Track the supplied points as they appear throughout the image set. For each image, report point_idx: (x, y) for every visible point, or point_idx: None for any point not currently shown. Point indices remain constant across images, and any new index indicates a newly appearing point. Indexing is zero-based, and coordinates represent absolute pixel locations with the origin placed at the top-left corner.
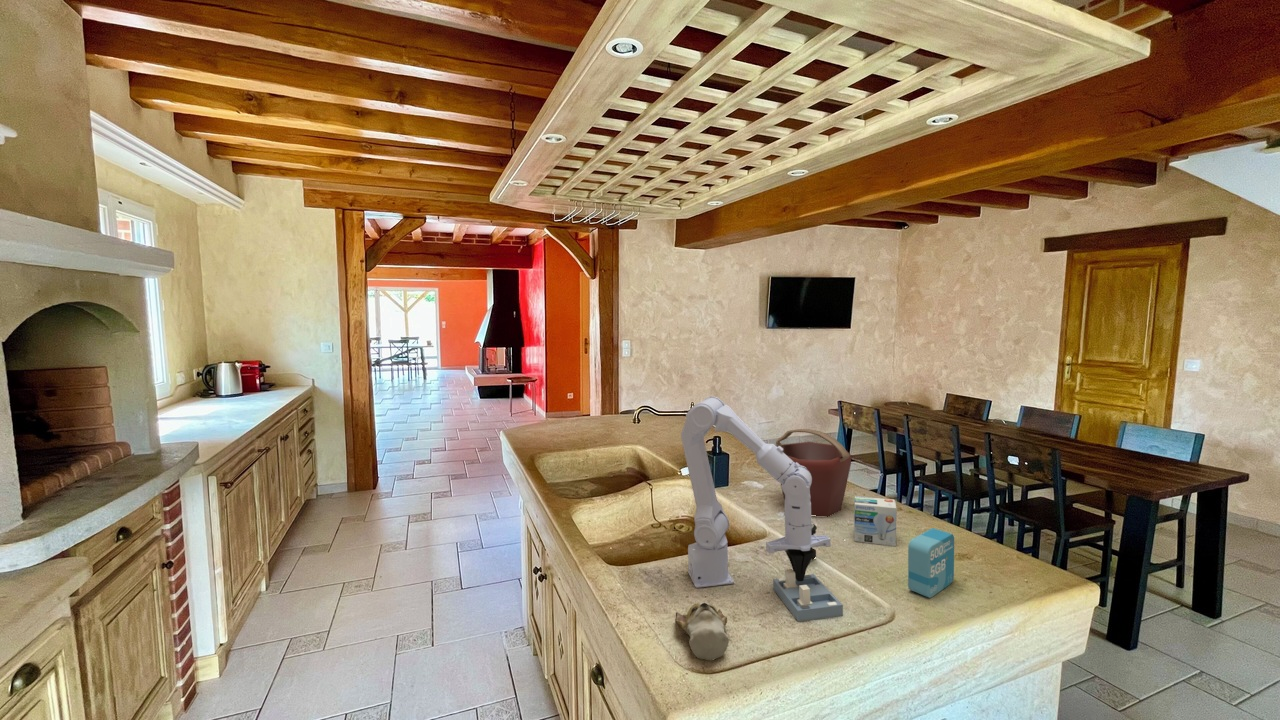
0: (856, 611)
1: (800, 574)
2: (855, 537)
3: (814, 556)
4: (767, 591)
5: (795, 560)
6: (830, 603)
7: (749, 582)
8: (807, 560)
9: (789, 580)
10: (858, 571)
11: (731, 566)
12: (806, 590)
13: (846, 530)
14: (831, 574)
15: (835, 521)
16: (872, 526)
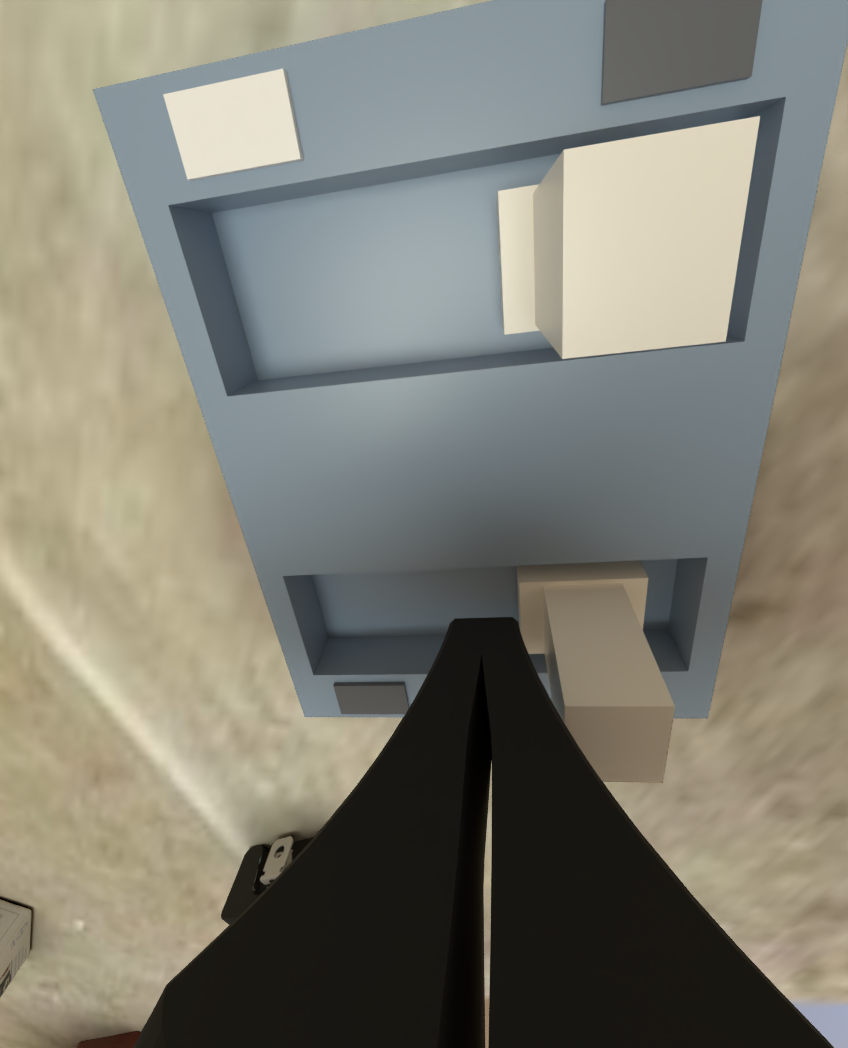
0: (42, 211)
1: (498, 670)
2: (9, 933)
3: (249, 868)
4: (741, 626)
5: (718, 967)
6: (255, 127)
7: (808, 744)
8: (355, 891)
9: (633, 633)
10: (17, 717)
11: (806, 894)
12: (651, 142)
13: (66, 964)
14: (185, 721)
15: (108, 1009)
16: None
